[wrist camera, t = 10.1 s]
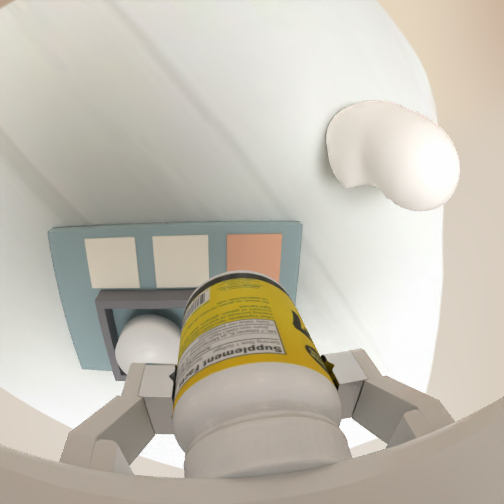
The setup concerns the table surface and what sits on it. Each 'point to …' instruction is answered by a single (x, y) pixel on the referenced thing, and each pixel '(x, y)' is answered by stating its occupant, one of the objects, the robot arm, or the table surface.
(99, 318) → the board
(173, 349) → the dome
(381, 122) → the figurine
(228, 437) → the supplement bottle
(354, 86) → the table surface
